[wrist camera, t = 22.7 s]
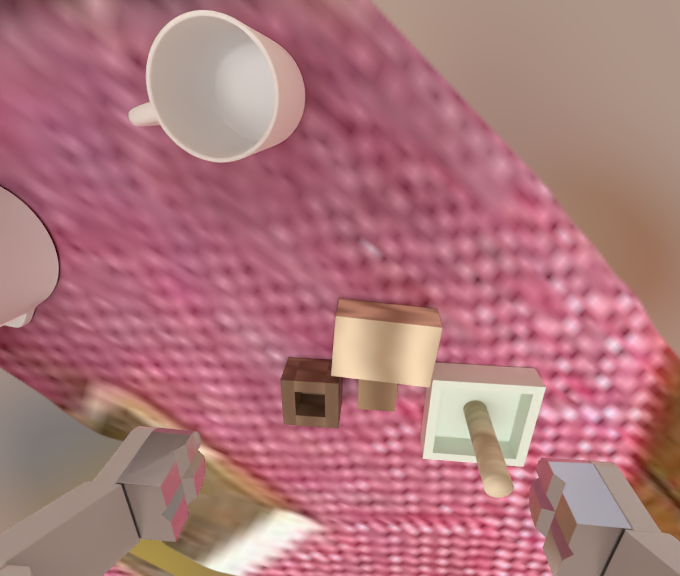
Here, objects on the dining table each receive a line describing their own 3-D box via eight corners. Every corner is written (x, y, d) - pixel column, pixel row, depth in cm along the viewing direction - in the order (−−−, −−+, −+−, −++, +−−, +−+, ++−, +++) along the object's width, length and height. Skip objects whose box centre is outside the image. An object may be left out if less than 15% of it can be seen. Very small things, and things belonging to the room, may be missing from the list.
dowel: (473, 421, 45) (497, 501, 36) (458, 409, 44) (478, 487, 35) (491, 409, 44) (519, 488, 35) (475, 396, 43) (500, 473, 34)
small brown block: (359, 390, 45) (357, 408, 42) (360, 361, 44) (358, 378, 41) (394, 392, 45) (395, 411, 42) (396, 363, 43) (397, 381, 40)
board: (335, 353, 44) (331, 375, 40) (339, 297, 41) (335, 316, 37) (425, 363, 43) (429, 387, 40) (437, 307, 40) (442, 327, 37)
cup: (318, 134, 34) (294, 146, 25) (192, 165, 36) (128, 186, 27) (291, 23, 31) (253, -10, 22) (155, 65, 33) (68, 50, 24)
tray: (420, 437, 47) (422, 458, 45) (429, 362, 43) (432, 380, 40) (514, 444, 46) (523, 466, 44) (534, 368, 42) (545, 387, 39)
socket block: (291, 399, 47) (283, 424, 43) (288, 357, 44) (280, 380, 41) (341, 402, 46) (338, 428, 43) (341, 360, 44) (338, 383, 40)
